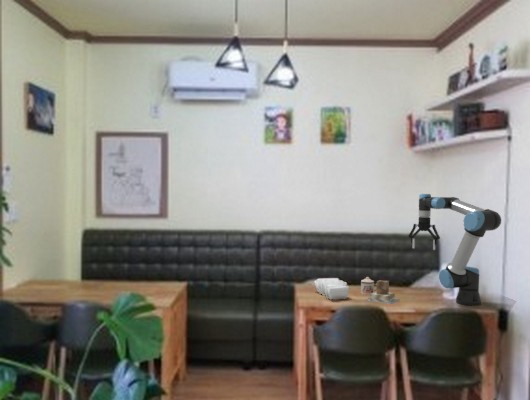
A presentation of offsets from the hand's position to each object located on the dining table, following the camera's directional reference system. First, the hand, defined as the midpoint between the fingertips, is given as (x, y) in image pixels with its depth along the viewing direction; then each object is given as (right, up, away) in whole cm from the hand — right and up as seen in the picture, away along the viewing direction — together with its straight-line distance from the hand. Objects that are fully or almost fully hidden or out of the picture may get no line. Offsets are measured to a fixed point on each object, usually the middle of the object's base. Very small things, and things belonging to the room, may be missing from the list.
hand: (423, 248), depth 366 cm
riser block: (-31, -31, -15) cm, 46 cm away
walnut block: (-31, -27, -15) cm, 44 cm away
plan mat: (-31, -32, -15) cm, 47 cm away
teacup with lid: (-35, -31, +5) cm, 47 cm away
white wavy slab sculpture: (-62, -31, -3) cm, 69 cm away
